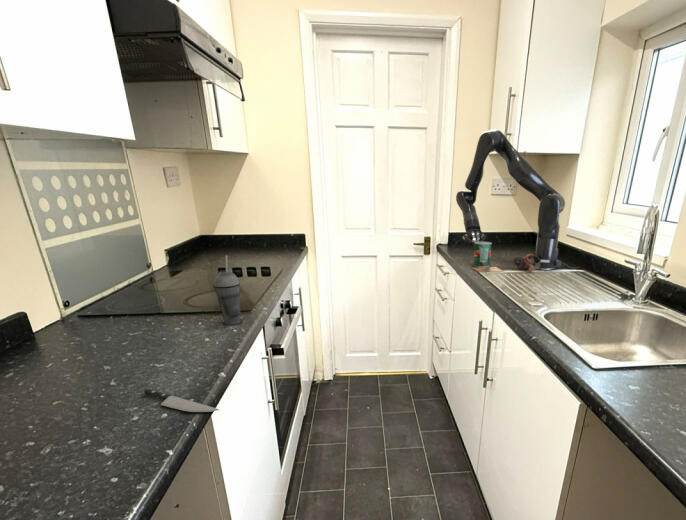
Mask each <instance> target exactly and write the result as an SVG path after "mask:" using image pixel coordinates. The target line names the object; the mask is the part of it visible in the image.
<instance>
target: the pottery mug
mask: <svg viewBox="0 0 686 520" xmlns="http://www.w3.org/2000/svg"><path fill="white" fill-rule="evenodd" d="M531 259H533V261H534V260H536V261H538V263H534V262H533V261H531ZM532 262H533V264H532ZM540 263H541V260H540V258H539V257H537V256H536V255H535V254H532V253H527V255H525V256H523V257H521V256H516V257H514V259H513V264H514V265H515V266H516V267H517V268H518V269H519V270H520V268H525V269H528V272H529V273H532V272H533V271H536V270H539V269H538V268H539V267H540Z"/></svg>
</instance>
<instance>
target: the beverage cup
mask: <svg viewBox="0 0 686 520" xmlns="http://www.w3.org/2000/svg"><path fill="white" fill-rule="evenodd" d="M224 257H225V259H224V260H225V270H221V271H219V272H217V273H216V274H215V276H214V278H213V280H212V287H213V289H214V292H215V294H216V297H217V301H218V304H219V308H220V312H221V315H222V319H223V322H224V324H225V325H228V326H231V325H237V324H240V323H241V320H242V319H241V299H240V289H241V288H240V287H241V286H240V285H241V283H240V281H239V278H238V276H237V275H236V274H235V273H234V272H232V271H229V269H228V268H229V267H228V266H229V265H228V264H229V263H228V254H227V255H225V256H224Z"/></svg>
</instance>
